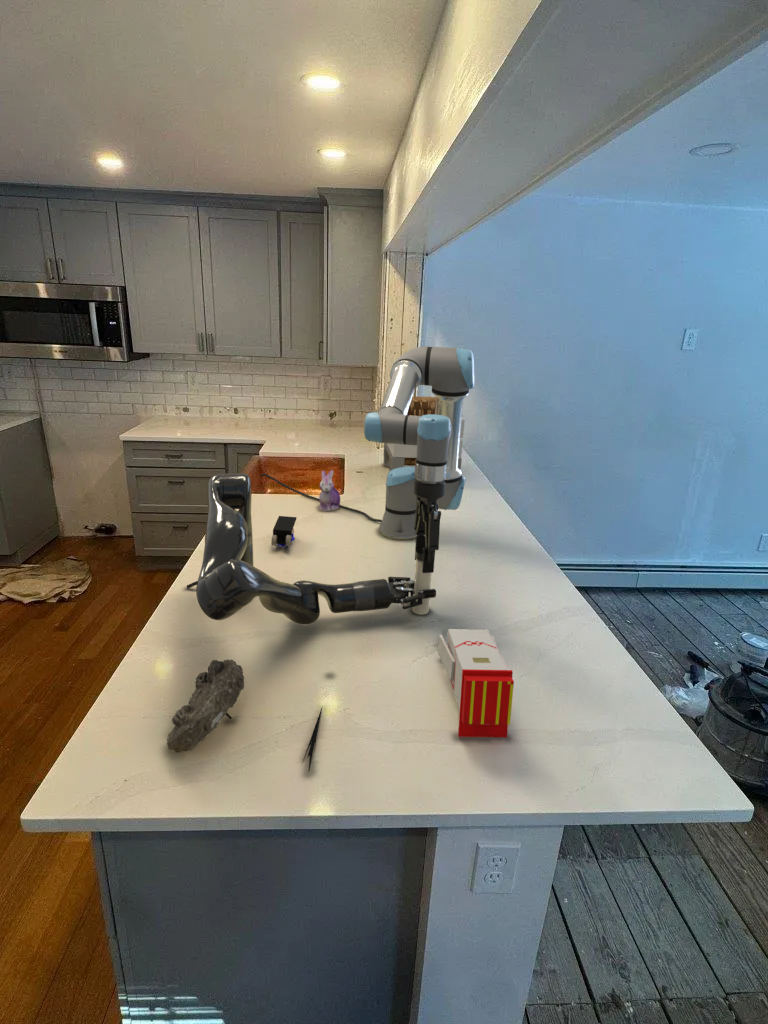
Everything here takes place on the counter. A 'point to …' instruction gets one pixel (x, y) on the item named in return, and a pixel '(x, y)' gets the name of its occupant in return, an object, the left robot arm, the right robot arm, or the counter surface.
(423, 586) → the white cylinder
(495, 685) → the toy
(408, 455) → the transformer
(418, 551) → the lid
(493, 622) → the counter surface
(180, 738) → the fossil
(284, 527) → the figurine character
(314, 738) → the feather
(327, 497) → the figurine
